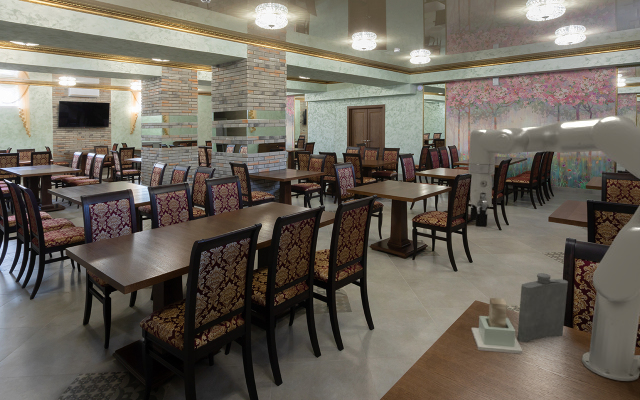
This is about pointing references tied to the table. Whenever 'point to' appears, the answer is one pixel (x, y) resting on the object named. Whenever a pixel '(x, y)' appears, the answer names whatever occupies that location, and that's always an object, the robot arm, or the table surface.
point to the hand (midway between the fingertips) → (478, 222)
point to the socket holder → (496, 337)
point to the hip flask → (542, 308)
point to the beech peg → (497, 313)
